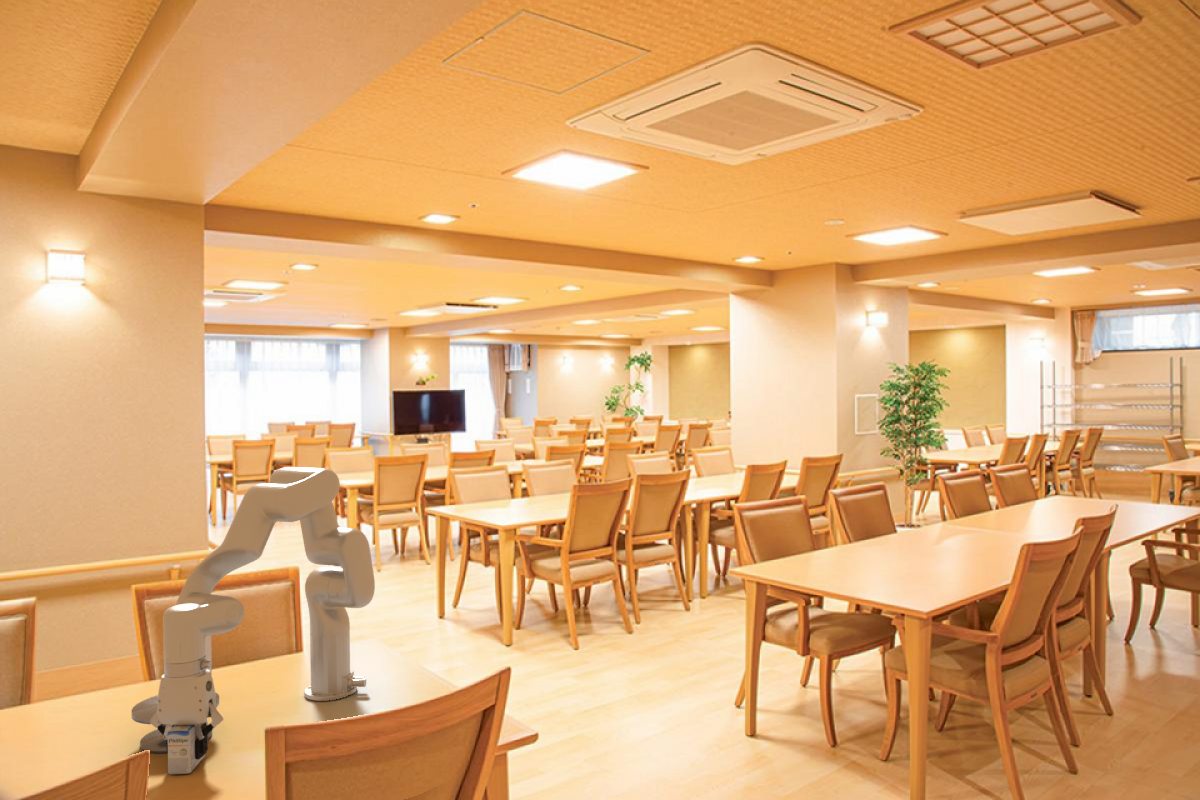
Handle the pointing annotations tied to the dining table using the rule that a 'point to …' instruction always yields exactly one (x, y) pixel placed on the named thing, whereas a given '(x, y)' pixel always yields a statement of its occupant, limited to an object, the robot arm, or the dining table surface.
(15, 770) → the dining table surface
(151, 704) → the cake stand
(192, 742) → the medicine box
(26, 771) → the dining table surface
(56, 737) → the dining table surface
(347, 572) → the robot arm
